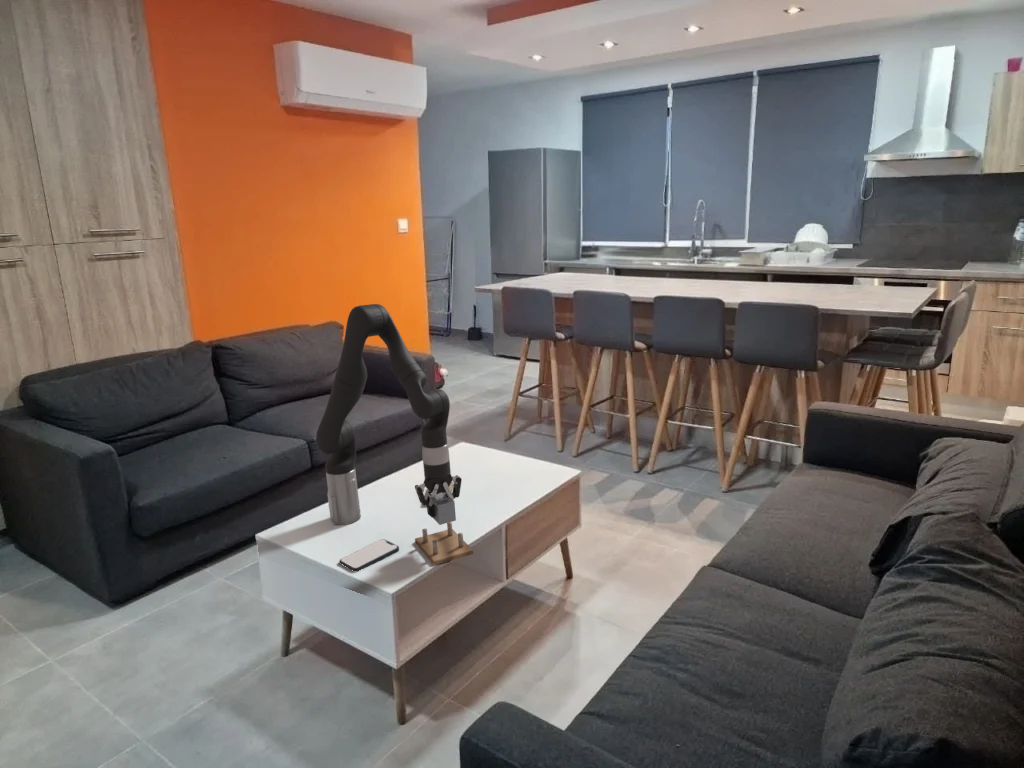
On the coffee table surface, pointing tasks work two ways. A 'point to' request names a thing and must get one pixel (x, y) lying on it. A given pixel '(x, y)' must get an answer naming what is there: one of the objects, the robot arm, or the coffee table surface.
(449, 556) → the tray
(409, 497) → the coffee table surface
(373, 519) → the coffee table surface
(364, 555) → the smartphone
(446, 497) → the block
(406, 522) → the coffee table surface
